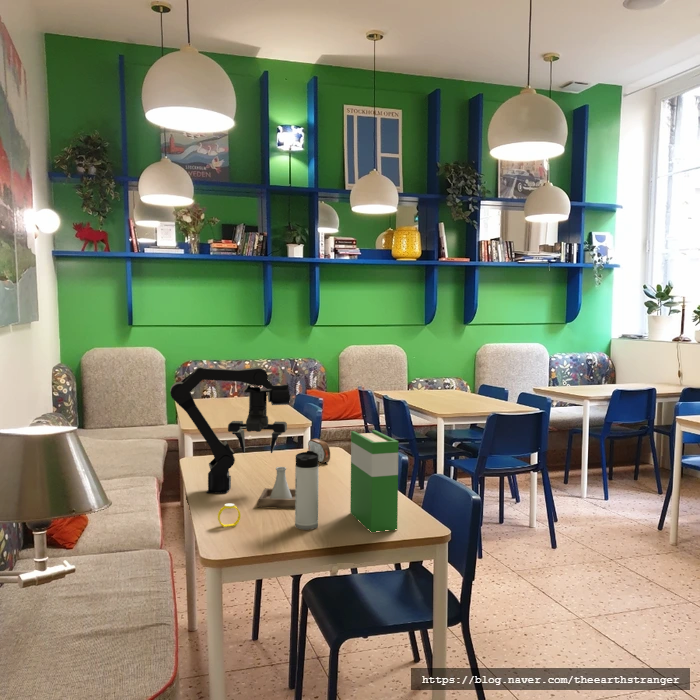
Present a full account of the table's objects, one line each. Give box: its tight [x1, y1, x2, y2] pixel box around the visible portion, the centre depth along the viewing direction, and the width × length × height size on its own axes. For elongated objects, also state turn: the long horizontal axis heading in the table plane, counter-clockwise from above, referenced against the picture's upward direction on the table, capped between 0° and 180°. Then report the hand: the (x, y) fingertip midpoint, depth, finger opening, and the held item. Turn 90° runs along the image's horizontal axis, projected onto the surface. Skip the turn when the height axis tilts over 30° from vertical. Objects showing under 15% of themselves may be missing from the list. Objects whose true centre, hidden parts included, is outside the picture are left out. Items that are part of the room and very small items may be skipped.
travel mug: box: [294, 450, 320, 531], centre depth 169 cm, size 6×7×20 cm
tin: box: [307, 437, 331, 464], centre depth 248 cm, size 15×3×8 cm, turn 30°
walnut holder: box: [257, 487, 295, 509], centre depth 192 cm, size 12×12×2 cm
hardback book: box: [349, 429, 399, 533], centre depth 173 cm, size 18×7×24 cm, turn 18°
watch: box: [217, 503, 241, 528], centre depth 169 cm, size 6×3×6 cm, turn 111°
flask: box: [270, 466, 293, 499], centre depth 191 cm, size 7×7×10 cm
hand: (257, 452), depth 206 cm, fingers open, 9 cm apart
